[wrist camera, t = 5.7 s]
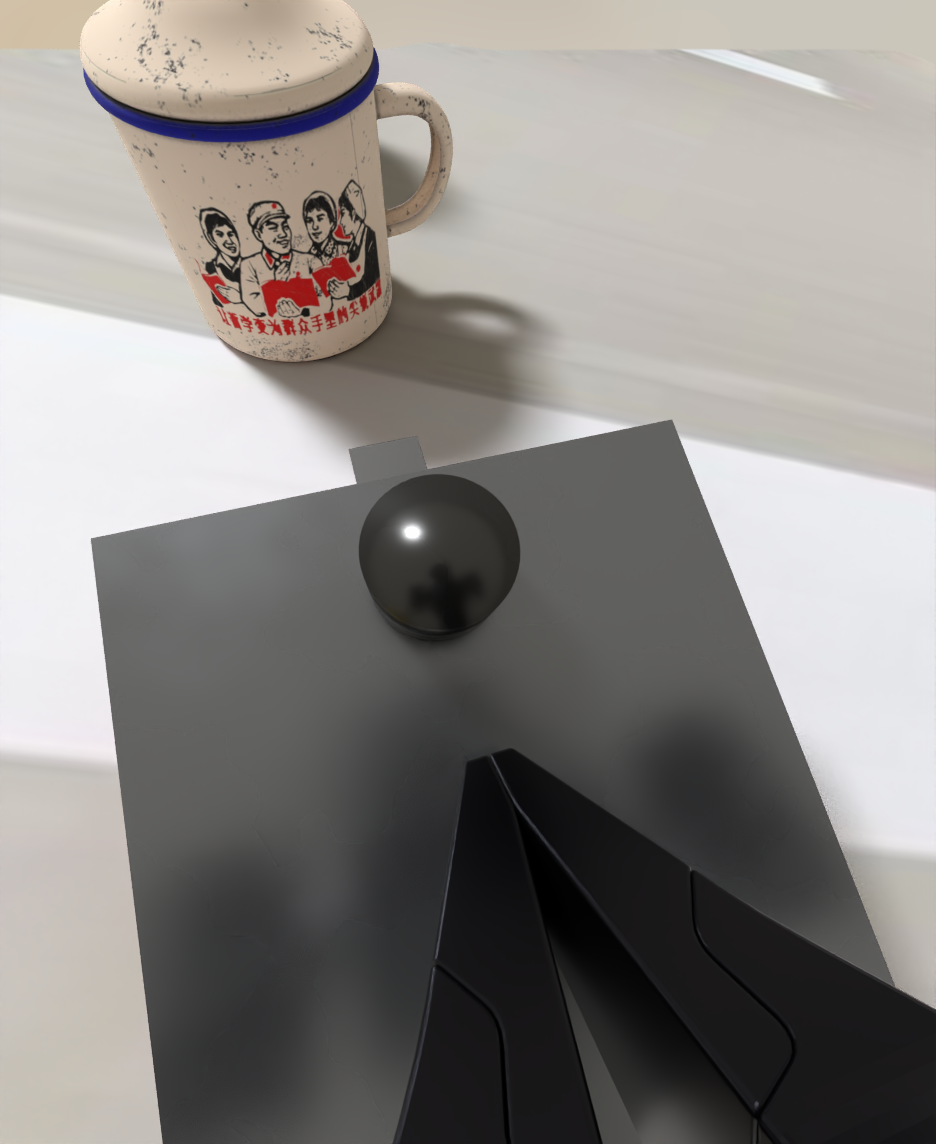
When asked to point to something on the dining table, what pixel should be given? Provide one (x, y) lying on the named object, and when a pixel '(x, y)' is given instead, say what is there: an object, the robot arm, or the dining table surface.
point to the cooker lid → (423, 754)
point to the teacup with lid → (265, 160)
